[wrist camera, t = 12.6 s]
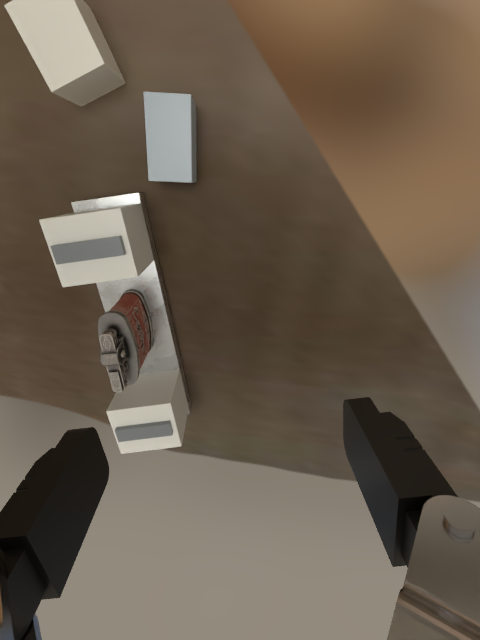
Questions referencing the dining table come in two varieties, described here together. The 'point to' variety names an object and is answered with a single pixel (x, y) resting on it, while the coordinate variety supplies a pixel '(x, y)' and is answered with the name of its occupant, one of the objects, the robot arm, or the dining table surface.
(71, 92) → the block
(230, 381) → the dining table surface
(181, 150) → the block
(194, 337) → the dining table surface
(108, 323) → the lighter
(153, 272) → the rail
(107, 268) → the mounted modules
